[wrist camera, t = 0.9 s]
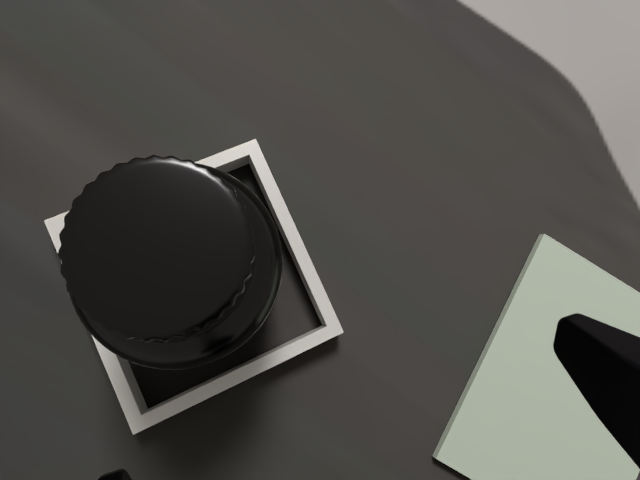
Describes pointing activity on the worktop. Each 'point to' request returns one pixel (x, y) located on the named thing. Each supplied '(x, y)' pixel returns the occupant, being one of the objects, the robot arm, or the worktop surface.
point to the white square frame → (145, 418)
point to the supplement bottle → (170, 262)
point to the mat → (540, 381)
